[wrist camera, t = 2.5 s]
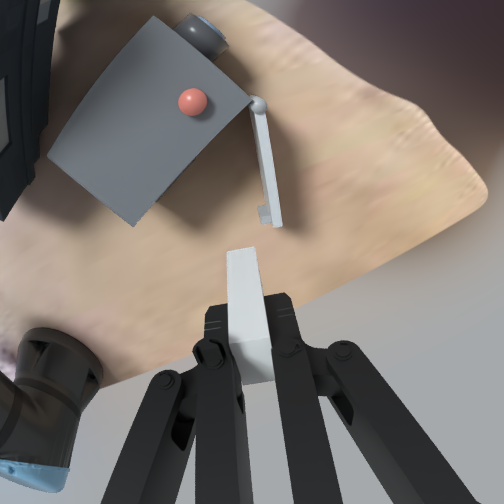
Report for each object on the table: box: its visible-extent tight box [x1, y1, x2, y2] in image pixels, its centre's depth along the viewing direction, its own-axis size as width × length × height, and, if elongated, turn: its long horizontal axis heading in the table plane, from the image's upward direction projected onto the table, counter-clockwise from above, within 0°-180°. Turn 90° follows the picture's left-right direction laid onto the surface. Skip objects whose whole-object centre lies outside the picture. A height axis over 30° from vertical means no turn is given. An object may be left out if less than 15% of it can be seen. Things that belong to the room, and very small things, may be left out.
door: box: [248, 94, 283, 228], centre depth 27 cm, size 11×2×6 cm, turn 10°
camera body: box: [47, 13, 252, 227], centre depth 24 cm, size 16×10×8 cm, turn 135°
